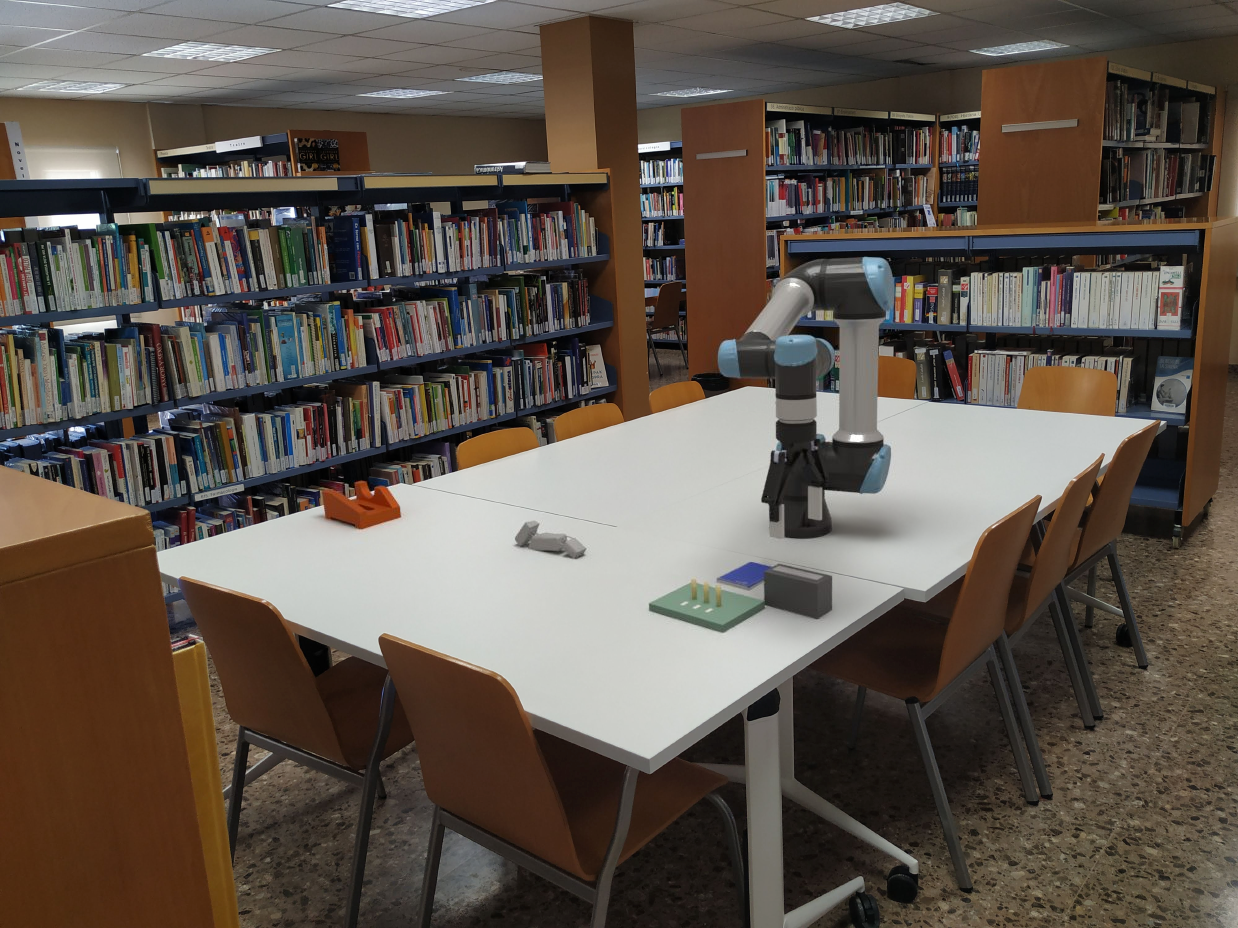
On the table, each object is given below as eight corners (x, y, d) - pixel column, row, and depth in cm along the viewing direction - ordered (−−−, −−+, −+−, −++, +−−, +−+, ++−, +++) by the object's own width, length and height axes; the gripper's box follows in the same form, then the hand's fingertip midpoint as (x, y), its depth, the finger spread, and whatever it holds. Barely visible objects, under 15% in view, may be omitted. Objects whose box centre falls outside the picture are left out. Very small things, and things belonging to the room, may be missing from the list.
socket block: (779, 596, 188) (778, 562, 187) (832, 609, 181) (832, 574, 179) (764, 604, 185) (763, 570, 183) (817, 618, 177) (817, 583, 175)
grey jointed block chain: (513, 544, 228) (513, 518, 226) (524, 540, 231) (524, 514, 229) (576, 566, 216) (577, 539, 214) (586, 561, 219) (587, 534, 217)
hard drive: (748, 585, 192) (781, 568, 201) (716, 577, 197) (749, 560, 206) (748, 592, 192) (781, 575, 201) (716, 584, 198) (749, 567, 207)
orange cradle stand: (325, 519, 260) (321, 491, 258) (364, 508, 269) (361, 480, 267) (361, 530, 248) (357, 501, 246) (401, 518, 257) (398, 489, 255)
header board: (692, 588, 195) (691, 563, 194) (764, 607, 183) (764, 581, 182) (649, 610, 185) (647, 584, 184) (722, 632, 173) (722, 604, 172)
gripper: (813, 406, 185) (813, 508, 190) (740, 429, 167) (742, 541, 172) (847, 409, 180) (846, 514, 185) (776, 433, 162) (777, 549, 167)
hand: (796, 528), depth 179 cm, fingers open, 13 cm apart
